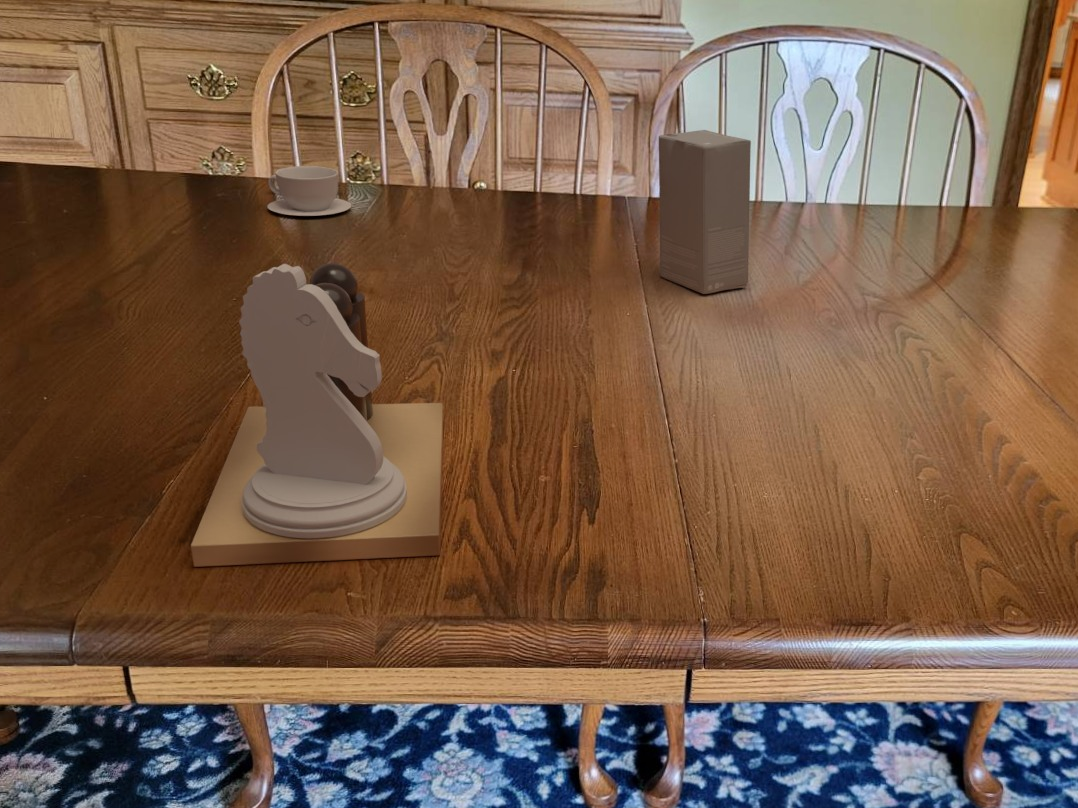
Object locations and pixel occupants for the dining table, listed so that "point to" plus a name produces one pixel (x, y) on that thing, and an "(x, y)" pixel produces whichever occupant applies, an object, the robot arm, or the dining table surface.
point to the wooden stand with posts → (405, 443)
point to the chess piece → (312, 415)
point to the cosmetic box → (704, 210)
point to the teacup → (307, 191)
